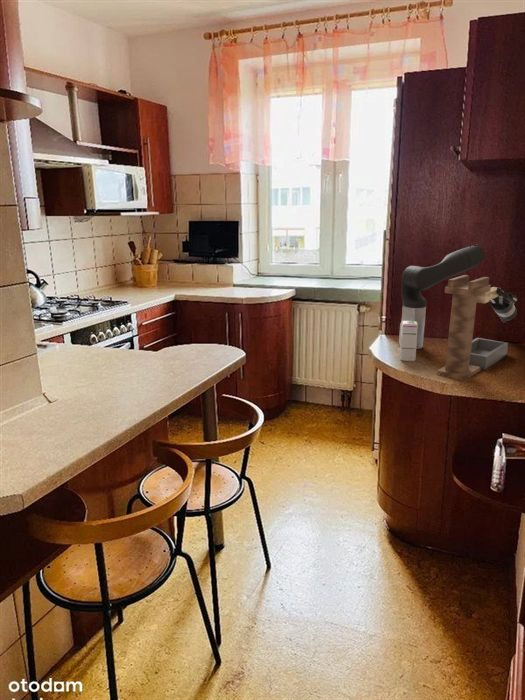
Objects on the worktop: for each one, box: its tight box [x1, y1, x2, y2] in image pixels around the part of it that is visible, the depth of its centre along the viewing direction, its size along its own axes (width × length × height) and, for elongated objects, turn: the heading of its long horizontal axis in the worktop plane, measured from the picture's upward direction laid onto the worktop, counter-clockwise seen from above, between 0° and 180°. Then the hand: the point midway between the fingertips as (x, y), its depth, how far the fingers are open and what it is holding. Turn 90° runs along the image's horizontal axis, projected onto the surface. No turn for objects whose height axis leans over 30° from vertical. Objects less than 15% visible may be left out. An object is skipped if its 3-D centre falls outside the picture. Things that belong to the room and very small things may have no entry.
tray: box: [469, 337, 509, 371], centre depth 194 cm, size 12×24×5 cm, turn 138°
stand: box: [436, 274, 492, 381], centre depth 175 cm, size 10×14×34 cm
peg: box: [476, 286, 501, 304], centre depth 187 cm, size 4×18×4 cm, turn 138°
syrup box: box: [399, 320, 418, 362], centre depth 194 cm, size 6×6×14 cm
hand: (492, 289), depth 191 cm, fingers closed on peg, 3 cm apart
